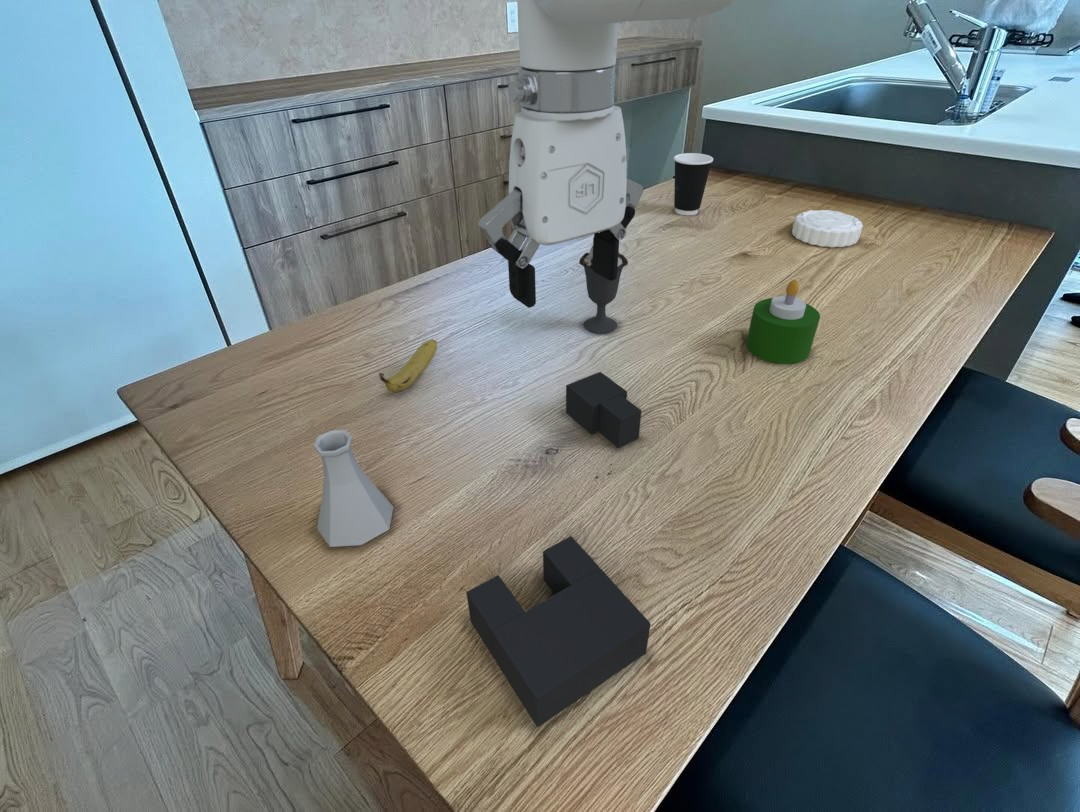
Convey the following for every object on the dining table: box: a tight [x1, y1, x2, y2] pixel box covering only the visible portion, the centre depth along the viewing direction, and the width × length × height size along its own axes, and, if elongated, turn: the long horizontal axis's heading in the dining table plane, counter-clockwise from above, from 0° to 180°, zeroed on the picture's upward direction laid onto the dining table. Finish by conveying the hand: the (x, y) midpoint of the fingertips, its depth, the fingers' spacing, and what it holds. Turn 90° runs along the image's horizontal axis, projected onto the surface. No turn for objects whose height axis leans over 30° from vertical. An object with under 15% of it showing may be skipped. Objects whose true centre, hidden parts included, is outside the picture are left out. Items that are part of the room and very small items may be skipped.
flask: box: [313, 429, 395, 548], centre depth 54 cm, size 7×7×10 cm
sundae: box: [578, 245, 629, 334], centre depth 82 cm, size 7×7×15 cm
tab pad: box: [565, 371, 642, 449], centre depth 67 cm, size 9×5×4 cm, turn 33°
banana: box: [378, 339, 438, 393], centre depth 74 cm, size 10×2×4 cm, turn 148°
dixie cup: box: [673, 152, 714, 216], centre depth 123 cm, size 8×8×11 cm
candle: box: [745, 279, 821, 365], centre depth 78 cm, size 8×8×10 cm
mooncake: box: [791, 209, 864, 249], centre depth 112 cm, size 12×12×4 cm
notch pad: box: [465, 535, 652, 728], centre depth 45 cm, size 10×10×4 cm
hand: (565, 288), depth 57 cm, fingers open, 9 cm apart
